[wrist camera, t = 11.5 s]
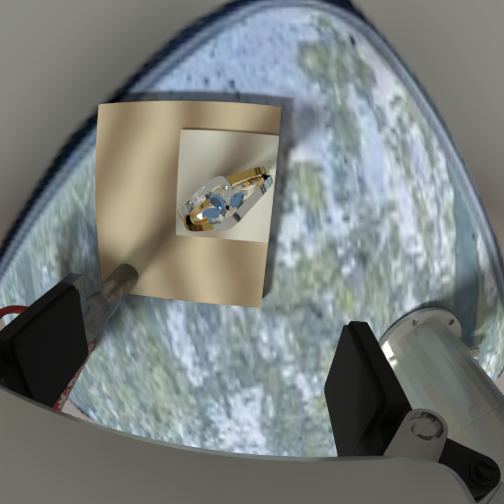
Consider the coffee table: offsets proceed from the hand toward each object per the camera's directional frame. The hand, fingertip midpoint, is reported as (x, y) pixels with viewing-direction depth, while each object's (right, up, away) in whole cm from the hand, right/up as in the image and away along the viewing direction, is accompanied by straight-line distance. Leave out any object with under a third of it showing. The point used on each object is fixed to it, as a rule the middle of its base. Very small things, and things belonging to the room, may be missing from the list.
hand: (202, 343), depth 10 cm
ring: (0, +8, +15) cm, 17 cm away
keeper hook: (-10, +2, +18) cm, 21 cm away
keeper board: (-5, +7, +17) cm, 19 cm away
